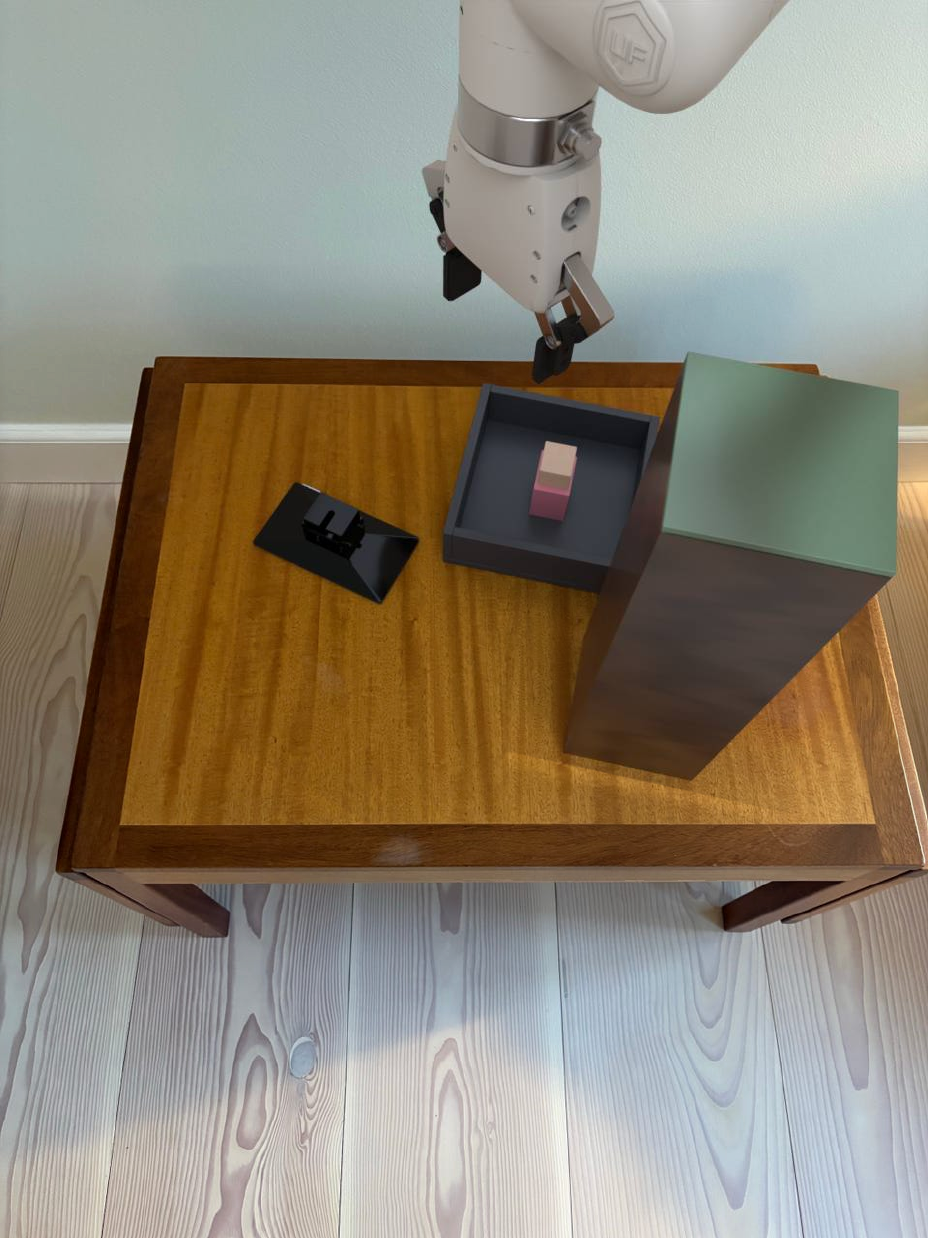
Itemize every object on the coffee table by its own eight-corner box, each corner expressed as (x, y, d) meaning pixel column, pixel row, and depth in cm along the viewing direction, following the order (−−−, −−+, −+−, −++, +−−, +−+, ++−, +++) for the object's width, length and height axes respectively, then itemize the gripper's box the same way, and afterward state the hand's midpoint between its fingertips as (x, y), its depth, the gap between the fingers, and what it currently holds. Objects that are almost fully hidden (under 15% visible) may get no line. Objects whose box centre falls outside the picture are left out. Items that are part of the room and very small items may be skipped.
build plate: (252, 545, 76) (241, 516, 72) (297, 481, 79) (289, 449, 75) (380, 605, 74) (376, 578, 69) (422, 537, 77) (420, 508, 72)
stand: (705, 662, 72) (899, 389, 42) (691, 781, 68) (897, 573, 38) (583, 637, 73) (687, 350, 43) (563, 753, 69) (662, 526, 38)
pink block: (570, 483, 78) (580, 442, 73) (563, 521, 77) (572, 482, 71) (537, 476, 79) (544, 434, 73) (528, 514, 77) (535, 474, 71)
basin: (648, 449, 81) (660, 416, 77) (624, 599, 75) (636, 572, 70) (480, 417, 82) (482, 382, 78) (442, 561, 76) (442, 532, 71)
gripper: (687, 162, 47) (626, 379, 63) (476, 3, 53) (468, 239, 68) (584, 225, 45) (547, 433, 61) (375, 52, 50) (390, 284, 66)
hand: (505, 330), depth 64 cm, fingers open, 9 cm apart
